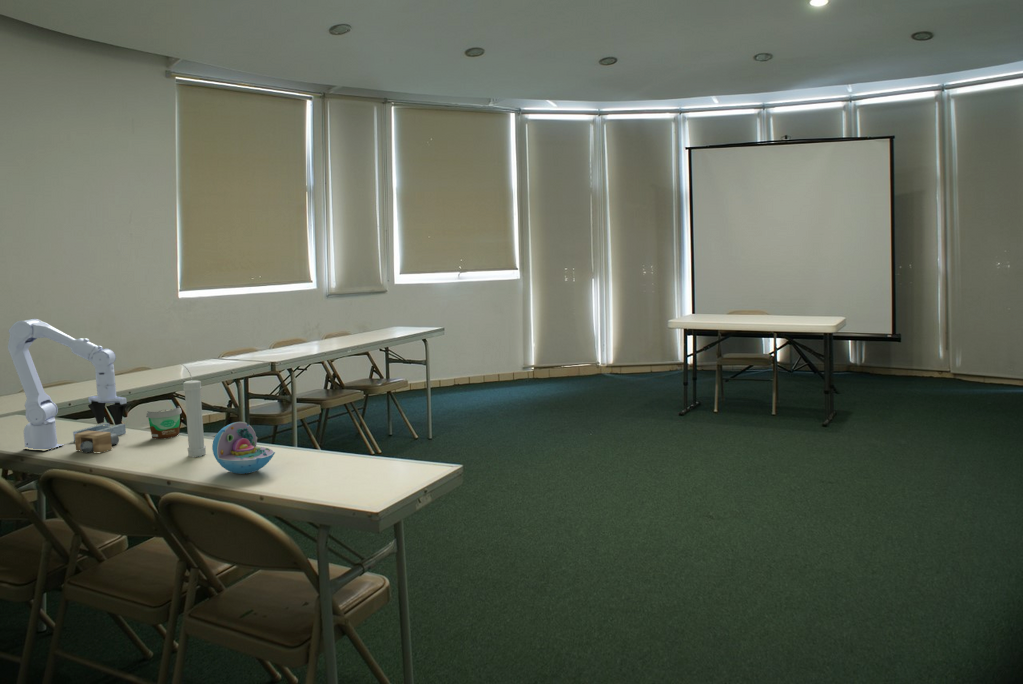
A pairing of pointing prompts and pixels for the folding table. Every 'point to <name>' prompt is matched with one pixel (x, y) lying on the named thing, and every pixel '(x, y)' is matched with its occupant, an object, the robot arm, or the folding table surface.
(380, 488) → the folding table surface
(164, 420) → the food container
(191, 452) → the pipe
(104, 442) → the beam
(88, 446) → the axle
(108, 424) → the cradle
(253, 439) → the educational model
